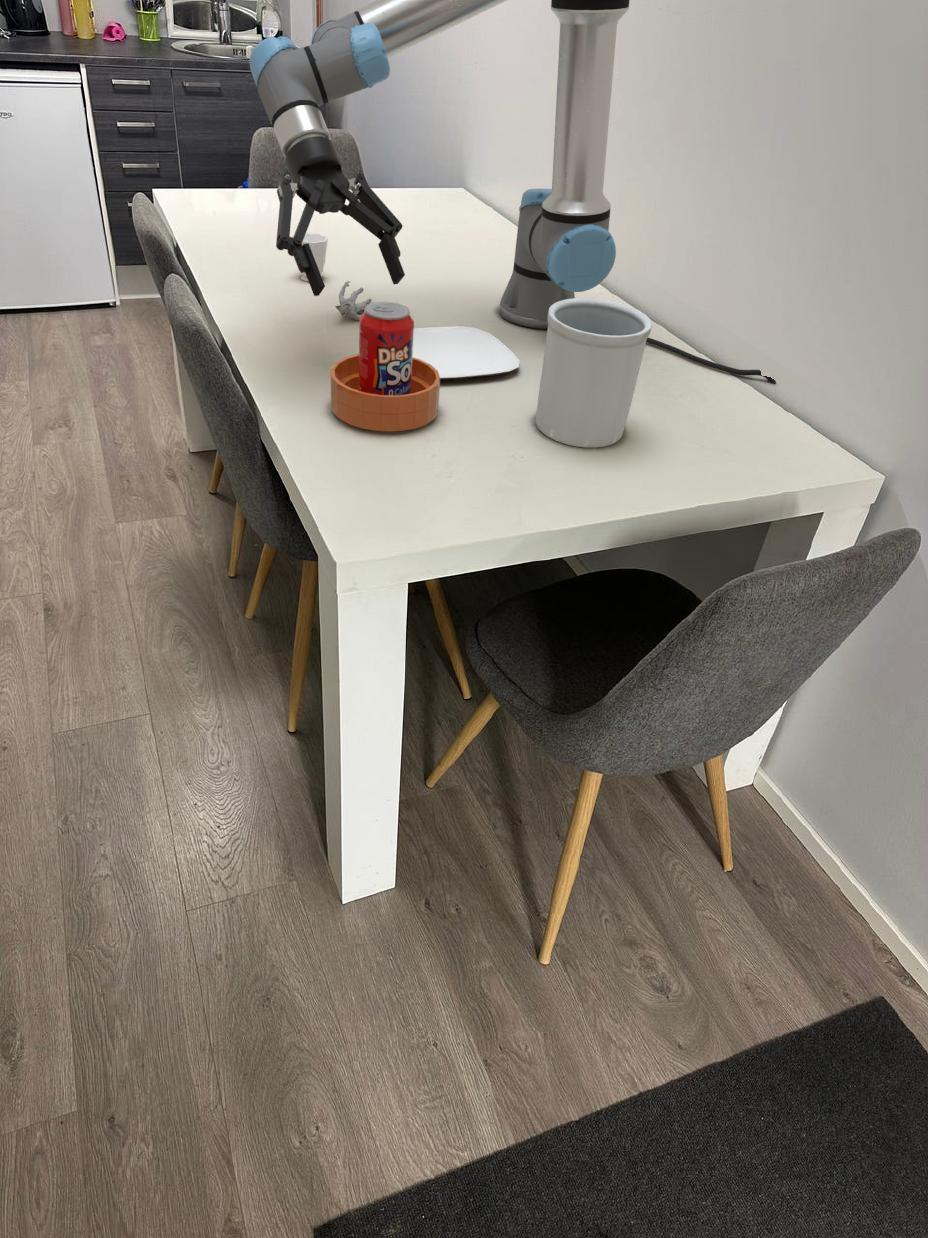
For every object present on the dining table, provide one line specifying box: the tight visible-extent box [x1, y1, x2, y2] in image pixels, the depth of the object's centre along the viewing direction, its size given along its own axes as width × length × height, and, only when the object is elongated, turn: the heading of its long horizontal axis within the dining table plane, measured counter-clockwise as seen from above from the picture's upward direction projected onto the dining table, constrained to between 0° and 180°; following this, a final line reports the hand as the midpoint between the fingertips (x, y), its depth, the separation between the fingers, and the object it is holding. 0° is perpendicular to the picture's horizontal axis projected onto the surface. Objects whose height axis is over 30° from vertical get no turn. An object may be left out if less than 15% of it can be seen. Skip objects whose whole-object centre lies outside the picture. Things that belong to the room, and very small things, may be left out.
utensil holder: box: [535, 297, 653, 449], centre depth 129 cm, size 15×15×18 cm
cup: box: [299, 232, 329, 283], centre depth 177 cm, size 7×10×8 cm
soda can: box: [358, 301, 415, 395], centre depth 128 cm, size 8×8×15 cm
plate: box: [413, 325, 521, 380], centre depth 151 cm, size 22×22×2 cm
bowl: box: [330, 353, 441, 432], centre depth 131 cm, size 16×16×6 cm
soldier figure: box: [334, 280, 373, 321], centre depth 163 cm, size 8×5×12 cm
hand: (360, 285), depth 128 cm, fingers open, 13 cm apart
